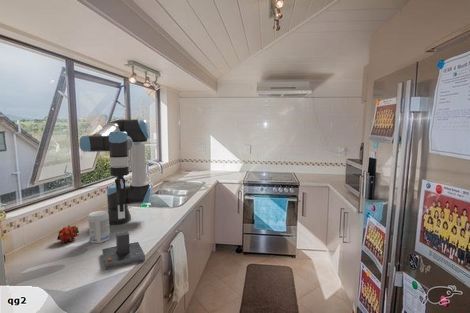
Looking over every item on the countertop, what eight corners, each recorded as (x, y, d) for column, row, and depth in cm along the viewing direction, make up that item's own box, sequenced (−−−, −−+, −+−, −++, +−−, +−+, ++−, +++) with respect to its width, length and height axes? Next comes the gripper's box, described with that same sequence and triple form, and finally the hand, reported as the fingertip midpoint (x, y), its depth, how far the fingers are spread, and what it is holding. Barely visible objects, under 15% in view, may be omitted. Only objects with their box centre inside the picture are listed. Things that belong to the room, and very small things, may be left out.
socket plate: (102, 254, 123) (102, 247, 123) (138, 246, 132) (137, 240, 131) (105, 269, 110) (105, 262, 109) (145, 260, 118) (144, 253, 118)
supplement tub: (110, 235, 146) (108, 209, 144) (110, 241, 137) (108, 214, 136) (90, 238, 141) (88, 211, 140) (89, 245, 133) (87, 217, 131)
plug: (116, 256, 121) (115, 233, 120) (128, 254, 124) (127, 231, 123) (118, 260, 118) (117, 236, 117) (129, 257, 120) (129, 234, 119)
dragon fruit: (81, 238, 144) (60, 251, 134) (70, 229, 146) (49, 240, 135) (85, 228, 141) (65, 240, 130) (74, 218, 142) (53, 229, 131)
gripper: (131, 167, 113) (133, 220, 115) (126, 164, 124) (128, 212, 126) (111, 168, 109) (114, 223, 111) (108, 165, 120) (110, 215, 122)
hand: (121, 217), depth 119 cm, fingers closed
